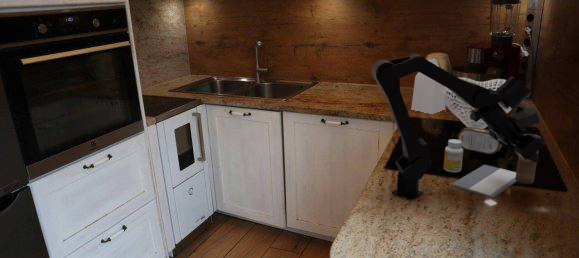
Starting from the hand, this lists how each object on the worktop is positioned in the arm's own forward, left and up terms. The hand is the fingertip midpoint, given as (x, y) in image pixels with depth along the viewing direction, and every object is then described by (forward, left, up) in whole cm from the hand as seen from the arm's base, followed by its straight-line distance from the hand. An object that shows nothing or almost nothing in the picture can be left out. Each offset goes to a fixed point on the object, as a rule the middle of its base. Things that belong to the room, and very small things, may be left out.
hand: (532, 158), depth 115 cm
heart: (+48, +37, -10) cm, 61 cm away
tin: (+24, +25, -10) cm, 36 cm away
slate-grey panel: (0, +11, -10) cm, 15 cm away
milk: (+62, +67, -10) cm, 92 cm away
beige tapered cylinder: (-1, +1, -7) cm, 7 cm away
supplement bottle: (+1, +23, -10) cm, 25 cm away
